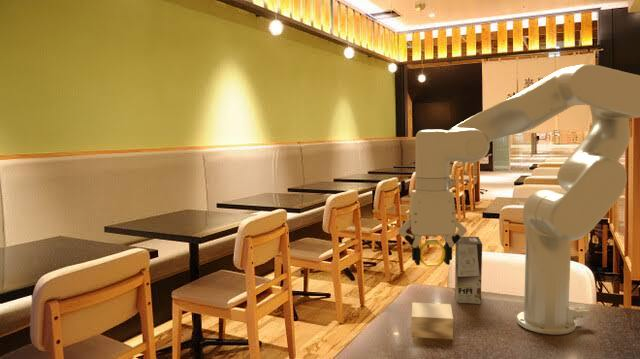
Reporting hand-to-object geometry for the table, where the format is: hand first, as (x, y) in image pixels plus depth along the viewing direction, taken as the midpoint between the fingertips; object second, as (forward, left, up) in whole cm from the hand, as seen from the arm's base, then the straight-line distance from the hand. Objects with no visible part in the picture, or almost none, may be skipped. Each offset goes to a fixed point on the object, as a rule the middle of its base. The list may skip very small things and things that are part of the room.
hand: (431, 262), depth 118 cm
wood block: (0, 0, -16) cm, 16 cm away
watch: (0, 0, -1) cm, 1 cm away
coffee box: (-14, -21, -16) cm, 30 cm away
